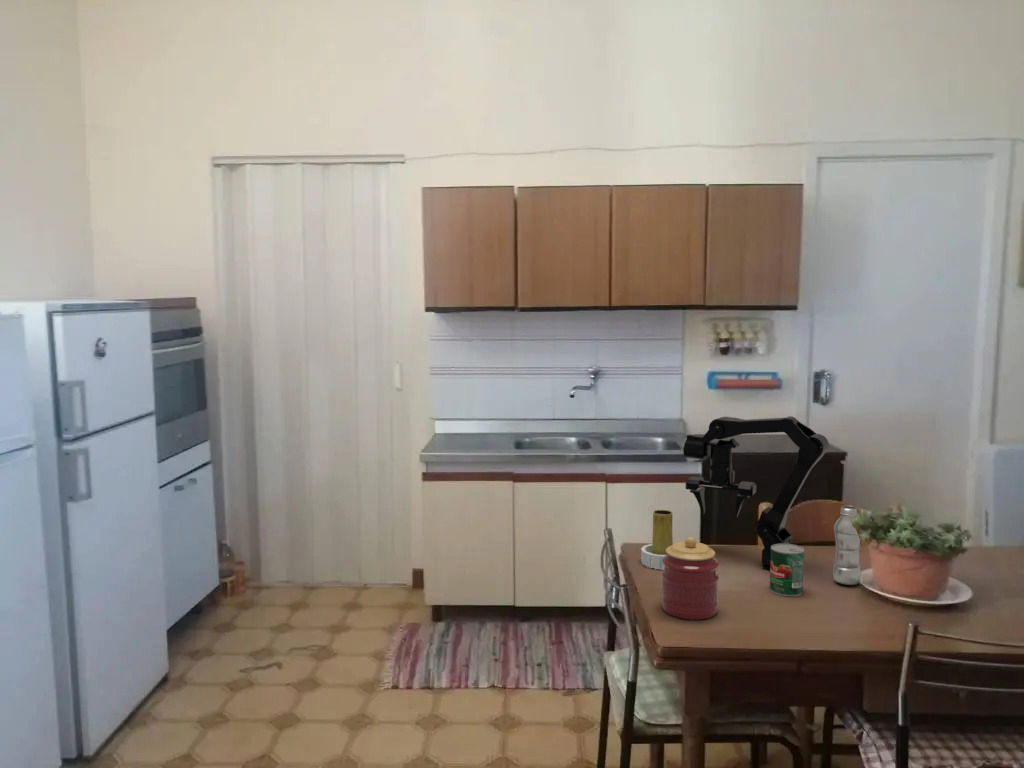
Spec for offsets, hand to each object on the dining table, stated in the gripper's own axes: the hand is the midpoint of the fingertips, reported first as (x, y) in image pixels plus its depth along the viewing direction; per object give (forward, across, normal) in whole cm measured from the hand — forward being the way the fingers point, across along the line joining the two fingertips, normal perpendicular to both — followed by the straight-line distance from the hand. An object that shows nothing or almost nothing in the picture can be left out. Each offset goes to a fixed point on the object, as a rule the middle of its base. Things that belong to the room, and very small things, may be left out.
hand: (719, 515), depth 217 cm
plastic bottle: (+12, -34, +7) cm, 37 cm away
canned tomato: (+12, -21, +19) cm, 31 cm away
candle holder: (+12, +13, +13) cm, 22 cm away
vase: (+12, +13, +13) cm, 22 cm away
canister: (+12, -2, +42) cm, 44 cm away
